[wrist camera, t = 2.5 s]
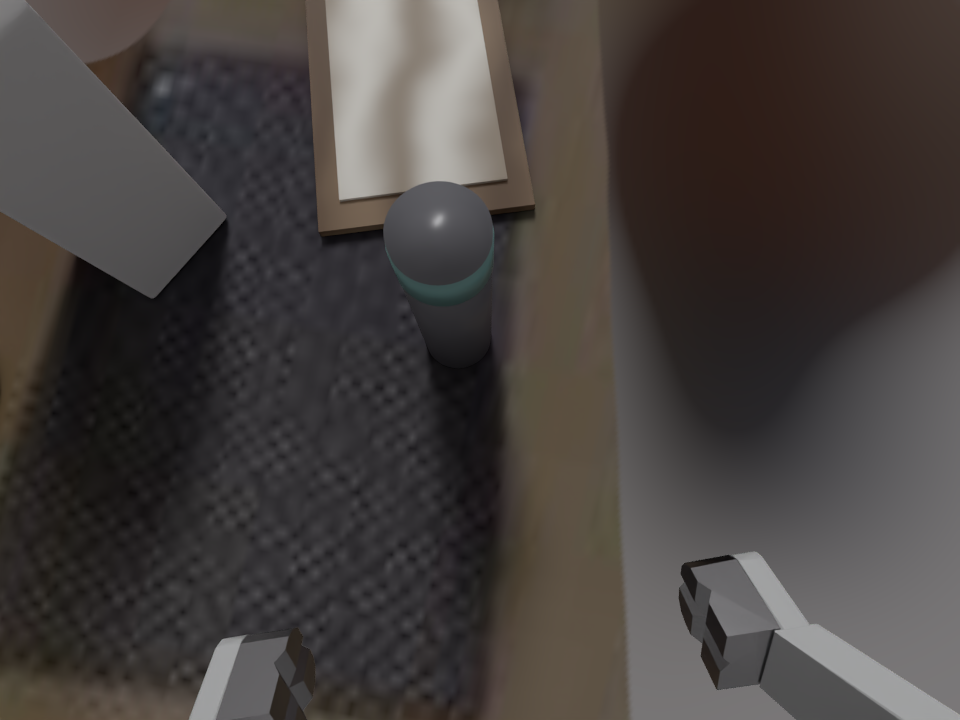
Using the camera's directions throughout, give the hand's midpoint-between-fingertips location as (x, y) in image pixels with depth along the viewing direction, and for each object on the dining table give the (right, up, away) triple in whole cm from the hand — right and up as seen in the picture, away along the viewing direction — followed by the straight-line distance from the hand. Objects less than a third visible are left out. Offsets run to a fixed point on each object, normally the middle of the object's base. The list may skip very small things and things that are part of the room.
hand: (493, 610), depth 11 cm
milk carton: (-22, +14, +23) cm, 34 cm away
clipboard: (-5, +26, +25) cm, 37 cm away
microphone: (-2, +7, +20) cm, 21 cm away
